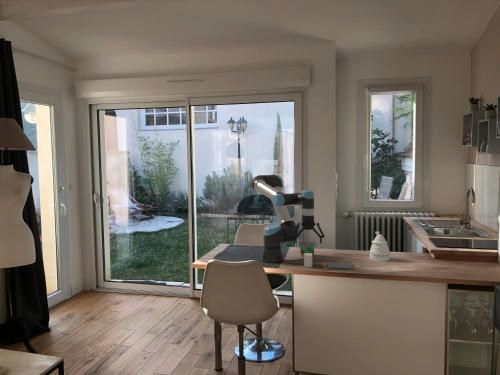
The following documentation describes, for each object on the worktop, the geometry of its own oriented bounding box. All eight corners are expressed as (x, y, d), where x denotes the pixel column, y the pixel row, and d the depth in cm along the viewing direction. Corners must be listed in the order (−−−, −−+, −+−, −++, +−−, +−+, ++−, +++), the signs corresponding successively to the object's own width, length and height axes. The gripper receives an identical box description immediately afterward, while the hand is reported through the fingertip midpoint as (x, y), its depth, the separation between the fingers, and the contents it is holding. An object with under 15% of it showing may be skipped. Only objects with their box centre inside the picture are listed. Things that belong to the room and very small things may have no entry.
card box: (304, 267, 263) (304, 256, 263) (304, 263, 272) (304, 252, 271) (312, 267, 262) (312, 256, 262) (312, 263, 271) (312, 253, 271)
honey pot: (365, 258, 283) (365, 232, 282) (377, 255, 290) (377, 230, 289) (381, 262, 272) (382, 234, 271) (393, 259, 280) (394, 232, 279)
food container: (303, 258, 287) (303, 243, 286) (298, 256, 292) (298, 241, 292) (318, 256, 291) (318, 242, 290) (314, 254, 297) (314, 240, 296)
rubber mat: (328, 268, 259) (328, 267, 259) (327, 263, 272) (327, 262, 272) (353, 269, 256) (353, 268, 256) (351, 263, 269) (351, 262, 269)
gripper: (287, 215, 263) (288, 249, 264) (328, 215, 259) (328, 249, 260) (288, 214, 270) (289, 246, 272) (328, 214, 267) (328, 247, 268)
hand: (308, 248), depth 266 cm, fingers open, 13 cm apart
